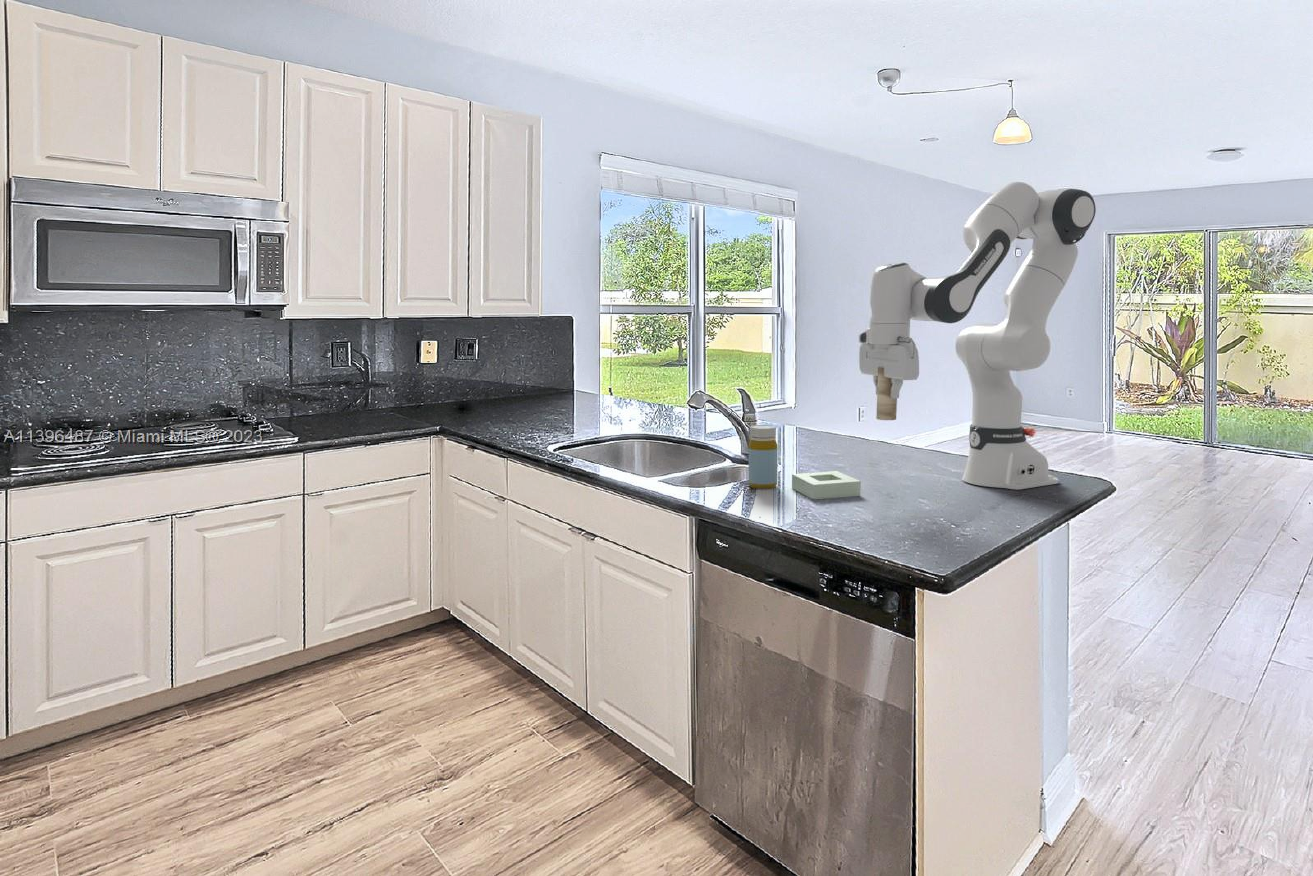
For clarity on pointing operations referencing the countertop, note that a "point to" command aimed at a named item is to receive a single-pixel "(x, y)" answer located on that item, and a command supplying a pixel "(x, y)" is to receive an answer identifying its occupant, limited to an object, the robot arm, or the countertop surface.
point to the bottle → (763, 457)
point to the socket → (826, 485)
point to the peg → (885, 398)
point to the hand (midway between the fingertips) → (887, 396)
